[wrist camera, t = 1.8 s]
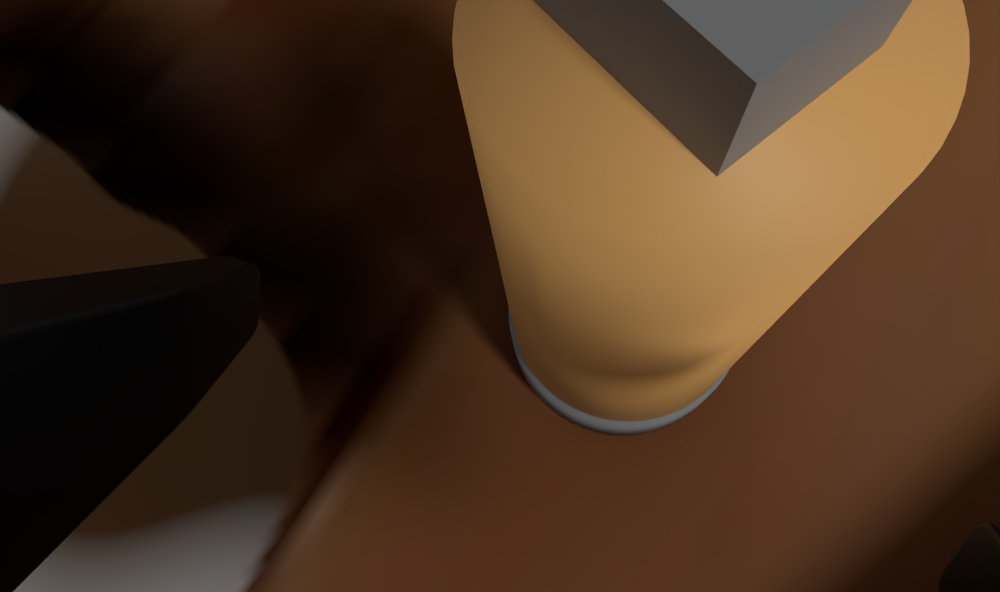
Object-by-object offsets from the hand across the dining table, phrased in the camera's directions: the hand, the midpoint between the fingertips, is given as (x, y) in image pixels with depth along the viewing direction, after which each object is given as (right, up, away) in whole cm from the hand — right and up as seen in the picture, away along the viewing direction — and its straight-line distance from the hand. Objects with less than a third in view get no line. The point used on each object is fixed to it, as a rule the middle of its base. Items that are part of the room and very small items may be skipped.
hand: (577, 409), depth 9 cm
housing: (+2, 0, +12) cm, 12 cm away
